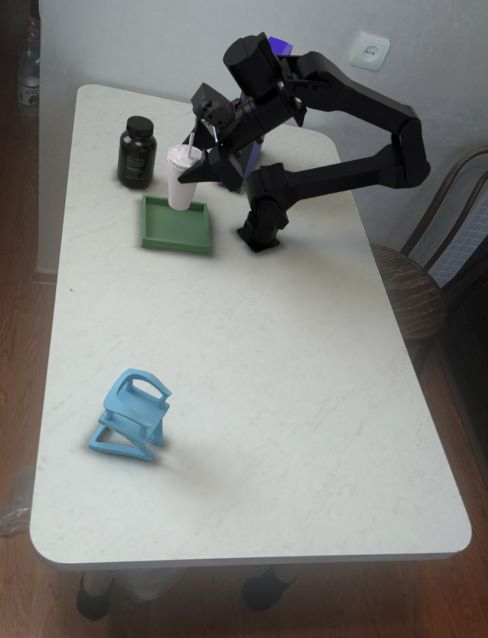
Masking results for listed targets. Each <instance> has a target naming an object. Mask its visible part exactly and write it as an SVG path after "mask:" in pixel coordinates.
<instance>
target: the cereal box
mask: <svg viewBox="0 0 488 638" xmlns="http://www.w3.org/2000/svg"><path fill="white" fill-rule="evenodd" d="M268 40H269V43H270V45H271V48H272V50H273V52H274V53H275V55H292V50H293V48H294V45H293V44H291V43H289V42H287V41H285V40H283V39H280V38H277V37H274V36H269V37H268ZM279 83H280V84H281V85H282V84H283V83H282V81H280V82H279ZM240 97H241V98H242V100H243V101H244V102H245V101H246V100H248V99H249V98H251V97H250V96H245V95H244V94H243V92H242V91H241V90H240V96H239V98H240ZM262 137H263V140H265V137H266V134H265V135H264V136H262ZM263 144H264V142H263V143H262V144H260V145H258V144H257V142H256V141H254V142H253V143H251V144H250V145H248V146H246V147H245V148H243V149H242V150H241V154H242V156H241V157H240V158H238V159H236V158H235V156H234V155H233V153H232V155H233V157H234V158H235V159H236V161H237V162H238V163H239V165H240V166H241V170H242V174H243V178H244V181H243V184H242V187H240V188H238V189H237V190H235V191H233V192H234V193H237V194H240V192H241V190H242V188H243V186H244V185H245V181H246V178H247V177H248V176H249V175H250V172H252V168H253V167H254V165H255V163H256V161H257V159H258V157H259V155H260V152H261V150H262V147H263ZM216 185H217V186H220V187H222V188H224V189H227V187H226V186H225V185H224V184H223V183H222V182H217V184H216Z"/></svg>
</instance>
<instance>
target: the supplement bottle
mask: <svg viewBox="0 0 488 638" xmlns="http://www.w3.org/2000/svg"><path fill="white" fill-rule="evenodd" d="M154 129H155V125H154V122H153V121H152V120H151V119H150V118H148V117H146V116H142V115H132V116H129V117H128V118H127V120H126V126H125V130H124V131H123V132H122V133H121V134H120V136H119V144H118V156H117V157H118V159H117V170H116V171H117V172H116V176H117V179H118V181H119V182H120V183H121V184H122V185H123V186H125V187H128V188H129V189H134V190H141V189H146V188H147V187H149V186H150V185H151V184H152V183H153V180H154V179H153V178H154V172H155V164H156V157H157V149H158V142H157V139H156V137H155V136H154Z"/></svg>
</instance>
